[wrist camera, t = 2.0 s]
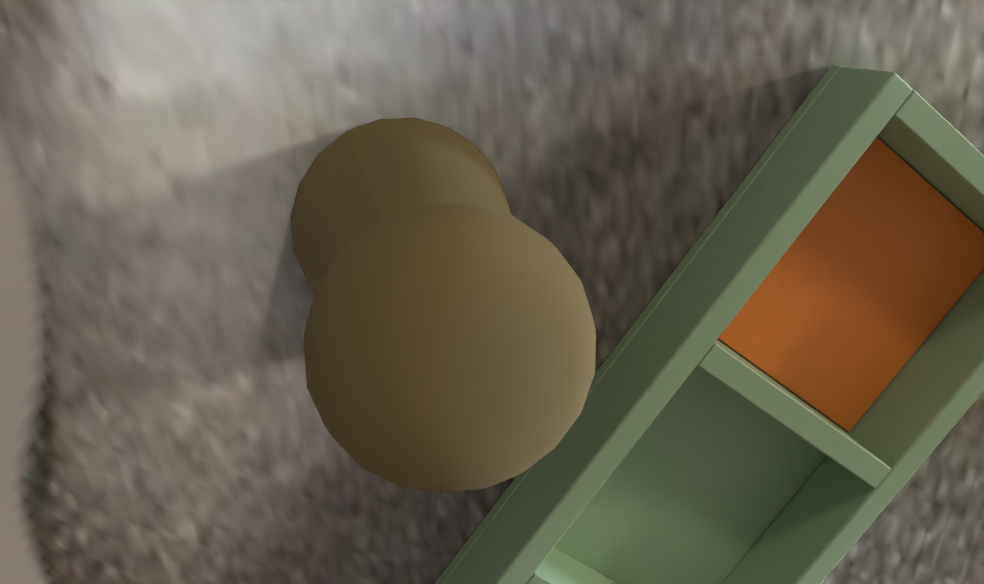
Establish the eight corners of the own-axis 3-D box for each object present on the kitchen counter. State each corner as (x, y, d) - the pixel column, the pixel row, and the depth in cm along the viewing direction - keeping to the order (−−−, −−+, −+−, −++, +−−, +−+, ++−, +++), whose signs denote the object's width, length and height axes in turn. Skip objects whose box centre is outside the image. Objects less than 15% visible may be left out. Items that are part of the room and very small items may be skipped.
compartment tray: (330, 717, 29) (331, 794, 26) (831, 63, 26) (895, 70, 23) (543, 810, 32) (565, 887, 29) (1019, 235, 29) (1096, 260, 26)
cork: (524, 304, 26) (662, 500, 16) (319, 351, 25) (324, 589, 15) (490, 97, 24) (623, 166, 14) (266, 141, 23) (229, 249, 13)
